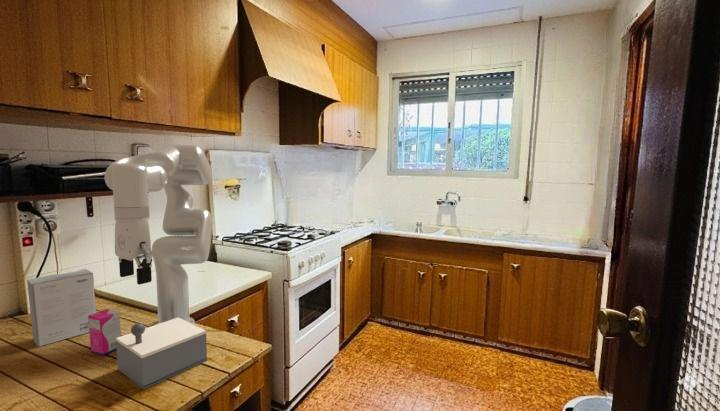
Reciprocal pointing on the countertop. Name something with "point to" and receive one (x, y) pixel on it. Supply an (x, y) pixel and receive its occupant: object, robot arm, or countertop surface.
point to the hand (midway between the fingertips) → (135, 279)
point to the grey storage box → (161, 361)
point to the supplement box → (104, 331)
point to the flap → (159, 336)
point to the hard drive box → (61, 305)
